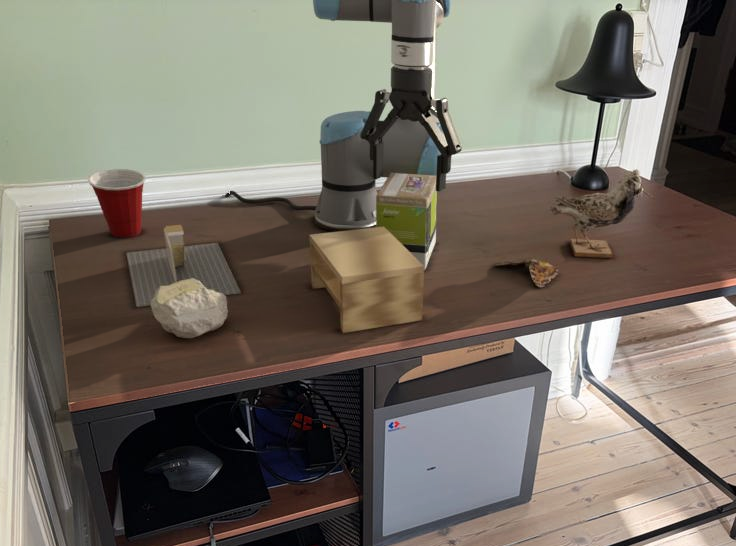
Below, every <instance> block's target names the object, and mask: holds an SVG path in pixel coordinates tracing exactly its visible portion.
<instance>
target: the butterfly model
mask: <svg viewBox="0 0 736 546" xmlns="http://www.w3.org/2000/svg"><path fill="white" fill-rule="evenodd" d="M522 263H523V264H524V263H525V268H527V269H528V273H530V277H531V279H532V281H533V283H534V284H535V286H536V287H537V288H544V287H545V284H546V285H547V284H549V283H551V279H552V280H553V279H555V277H556V276H557V275H558V274H559V273H560V271H559V270H558V267H557V266H555V265H552V264H550V263H549V262H548V261H546V262H545V261H543V262H542V261H541V260H540V259H535V258H526V259H524V260H519V261H513V262H508V263H507V262H505V263H497V264H496V266H506V265H512V264H513V265H515V264H522Z"/></svg>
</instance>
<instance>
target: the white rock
mask: <svg viewBox="0 0 736 546" xmlns="http://www.w3.org/2000/svg"><path fill="white" fill-rule="evenodd" d="M227 298H228V297H227V295H224V294H223V293H218V292H215V291H214V290H211V289H206V288H205V287H204V286H203V284H202V283H201V282H200V281H199V280H195V279H194V278H191V279H186V280H182V281H179V282H176V283H173V284H171V285H169V286H161V287H159V288H158V289H157V290H156V293H155V296H154V298H153V299H152V301H151V303H150V305H149V306H150V308H151V311H152V314H153V316H154V318H155V320H156V321H157V322H159V323H160V325H161V327H162V329H163V330H164V331H166V332H167V333H171V334H174V335H175V336H176V337H178V338H183V339H194V338H197V337H199V336H202V335H203V334H206V333H208V332H212V331H213V332H214V331H215V330H218V329H219V328H221V327H222V326H223V325H224V322H225V321H226V320H227V319H228V314H229V310H228V300H227Z"/></svg>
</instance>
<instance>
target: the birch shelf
mask: <svg viewBox="0 0 736 546" xmlns="http://www.w3.org/2000/svg"><path fill="white" fill-rule="evenodd" d="M308 237H309V255H310V256H309V257H310V279H311V287H312V289H313V290H315V289H323V288H325V289H326V290H327V292H328V293H329V295H330V296H331V297H332V299H333V300H334V302H335V303H336V304H337V306H338V307H339V310H340V311H339V312H340V331H341V332H342V334H346V333H352V332H359V331H365V330H371V329H377V328H383V327H390V326H396V325H400V324H401V325H402V324H406V323H407V324H408V323H413V322H421V321H423V306H424V305H423V303H424V281H425V279H424V277H425V270H424V266H423V265H422V264H421V263H420V262H419V261H418V260H417V259H416V258H415V257H414V256H413V255H412V254H411V253H410V252H409V251H408V250H407V249H406V248H405V247H404V246H403V245H402V244H401V243H400V242H399V241H398V240H397V239H396V238H395V237H394V236H393V235H392V234H391V233H390V232H389V231H388V230H387V229H386V228H385V227H376V228H367V229H357V230H348V231H339V232H333V231H329V232H323V233H314V234H313V233H312V234H309V236H308Z"/></svg>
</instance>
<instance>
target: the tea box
mask: <svg viewBox="0 0 736 546" xmlns="http://www.w3.org/2000/svg"><path fill="white" fill-rule="evenodd" d="M437 193H438V191H436V176H435V175H417V174H402V173H392V172H391V173H390V175H389V176H388V178H386V179H385V181H384V182H383V184H382V186H381V187H380V189H379V191H377V195H376V227H385V228H386V229H387V230H388V231H389V232H390V233H391V234H392V235H393V236H394V237H395V238H396V239H397V240H398V241H399V242H400V243H401V244H402V245H403V246H404V247H405V248H406V249H407V250H408V251H409V252H410V253H411V254H412V255H413V256H414V257H415V258H416V259H417V260H418V261H419V262H420V263H421V264H422V265H423V266H424V271H425V270H426V269H427V267H428V263H429V261H430V259H431V256H432V253H433V250H434V248H435V245H436V242H437V241H436V240H437V198H438V197H437Z"/></svg>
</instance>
